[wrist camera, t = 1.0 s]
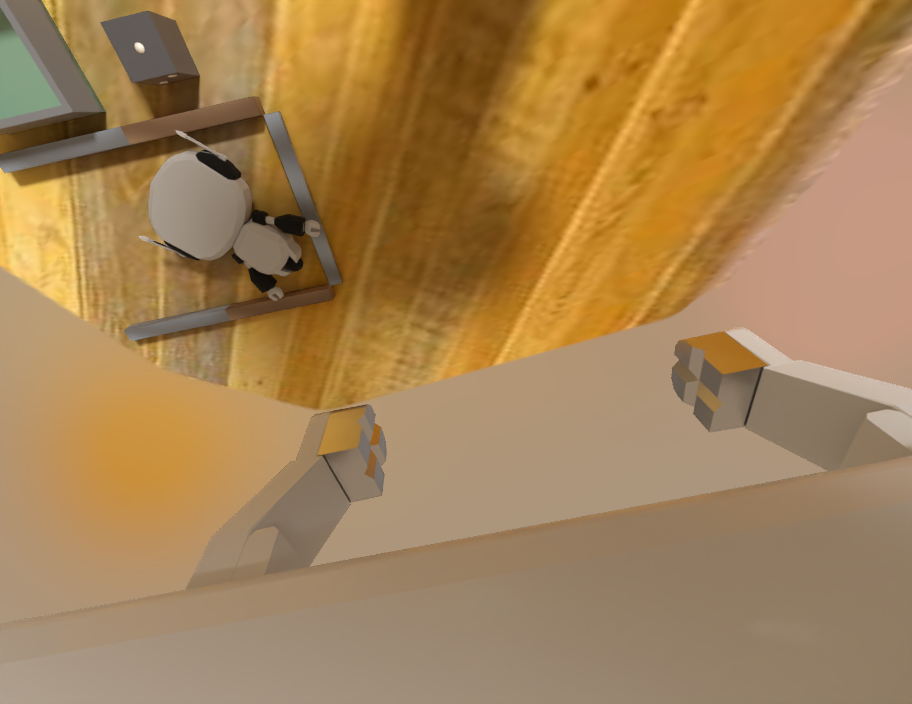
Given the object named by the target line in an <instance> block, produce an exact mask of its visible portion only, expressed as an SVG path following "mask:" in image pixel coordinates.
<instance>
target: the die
mask: <svg viewBox="0 0 912 704" xmlns="http://www.w3.org/2000/svg"><path fill="white" fill-rule="evenodd" d="M100 23H101V25H102V27H103V28H104V30H105V32H106V34H107V36H108V38H109V40H110V42H111V44H112V45H113V47H114V49H115V51H116V53H117V55H118V57H119V59H120V61H121V62H122V64H123V66H124V68H125V70H126V72H127V74H128V76H129V78H130V79H131V81H132V83H140V84H150V85H163V84H167V83H172V82H176V81H180V80H184V79H189V78H193V77H197V76H200V75H199V73H198V70H197V68H196V66H195V64H194V61H193V59H192V57H191V55H190V52H189V50H188V48H187V46H186V44H185V41H184V39H183V37H182V35H181V32H180V30H179V28H178V26H177V23H176V21H175V20H172V19H169V18H167V17H164V16H161V15H158V14H156V13H153V12H150V11H145V12H141V13H137V14H133V15H128V16H124V17H120V18H116V19H112V20H108V21H104V22H100Z"/></svg>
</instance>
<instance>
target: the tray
mask: <svg viewBox="0 0 912 704" xmlns="http://www.w3.org/2000/svg"><path fill="white" fill-rule="evenodd" d="M102 112H106V111H105V110H104V108H103V106H102V105H101V103H100V101H99V99H98V98H97V96H96V94H95V92H94V91H93V89H92V87H91V86H90V84H89V82H88V80H87V79H86V77H85V75H84V73H83V72H82V70H81V68H80V67H79V65H78V63H77V61H76V60H75V58H74V56H73V54H72V53H71V51H70V49H69V48H68V46H67V44H66V42H65V41H64V39H63V37H62V35H61V34H60V32H59V30H58V28H57V27H56V25H55V23H54V22H53V20H52V18H51V16H50V15H49V13H48V11H47V9H46V8H45V6H44V4H43V3H42V1H41V0H0V135H4V134H12V133H16V132H20V131H24V130H29V129H33V128H37V127H42V126H46V125H50V124H55V123H59V122H63V121H68V120H72V119H76V118H81V117H85V116H89V115H94V114H98V113H102Z"/></svg>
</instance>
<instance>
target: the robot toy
mask: <svg viewBox="0 0 912 704" xmlns="http://www.w3.org/2000/svg"><path fill="white" fill-rule="evenodd" d="M175 131H176V132H177V134H178V135H180V136H181V137H183V138H186V139H188V140H190V141H192V142H194V143H195V144H197V145H199V146H201V147H203V148H205V149H206V150H203V151H200V152H198V151H194V150H189V151H186V152H183V153H180V154H177V155H174V156H172V157H170V158H169V159H168V160H167V161H166V162H165V163H164V164H163V165H162V166H161V168H160V169H159V171H158V172H157V174H156V176H155V177H154V179H153V181H152V182H151V185H150V193H149V202H148V210H149V219H150V222H151V224H152V227H153V229H154V231H155V232H156V233H157V234H158V235H159V237H160V238H161V239H162V240H164V242H165V243H166V244H167V245H168V246H169V247H168V246H166V245H163V244H161V243H158V242H156V241H153V240H151V239H149V238H147V237H145V236H138V237H139V238H140V239H141V240H143V241H146V242H150V243H153V244H155V245H158V246H160V247H163V248H165V249H168V250H170V251H173V252H176V253H178V254H179V255H180V256H182V257H185V256H186V257H188V258H192V259H195V260H200V259H204V260H209V261H211V260H214V259H217V258H220V257H221V256H223V255H224V254H225V253H226V252H227V251H229V250H230V249H231V248H232V247H233V248H234V250H235V253H234V254H233V255H232V257H233V258H234V259H235V260H236V261H237V262H238V263H239V264H242V263H244V265H245V266H246V267H247V268H248V269H249V274H250V278H251V281H252V282H253V283H254V284H255V285H256V287H257V288H258V289H259V290H260V291H261V292H262V293H263V292H266V291H267V294H268V297H269V298H271V299H272V300H274V301H277V300H278V299H279V298H282V297H283V295H284V293H283V291H282V290H281V288H279V287H277V286H275V284H276V283H277V281H276V280H275V278H274V277H273V276H272V275H271V274H276V275H280V276H286V275H288V274H290V273H291V272H292V271H299V270H300V269H301V268H302V267H303V261H302V259H301V258H300V257H301V256H302V249H301V247H300V246H299V245H298V244H297V243H296V242H295V241H294V239H293V236H292V234H293V235H298V236H303V235H304V233H306V234H308V235H309V236H311V237H318V236H319V235H320V231H318V230H313V229H312V228H317V229H320V224H319V223H318V222H316V221H314V220H309V221H306V219H305V217H300V216H295V215H290V214H287V215H283V216H279V217H271V216H268V214H267V212H264V211H259V210H254V212H253V213H252V219H250V215H251V209H252V196H251V192H250V188H249V186H248V185H247V184H246V182H245V181H244V180H243V179H242V178H241V172H240V171H239V170H238V169H237V168H236V167H235V166H234V165H233V164H232V163H231V162H230V161H228V160H227V156H226V155H224V154H223V153H221V152H220V153H218V152H216V151H214V150H213V149H211V148H209V147H207V146H205V145H204V144H202V143H200V142H198V141H196V140H195V139H193V138H191V137H189V136H187V134H185V133H183V132H181V131H177V130H175ZM249 219H250V220H249Z"/></svg>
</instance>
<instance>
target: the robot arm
mask: <svg viewBox="0 0 912 704" xmlns="http://www.w3.org/2000/svg"><path fill="white" fill-rule="evenodd" d="M674 354H675V355H676V357H677V358H678V359H679V361H678V362H677V363H676V364H675V365H674V367H673V368H672V377H671V379H672V383H673V387H674V390H675V392H676V393H677V395H678V397H679V398H680V399H681V400H682V401H683V402H684V403H686V404H689V405H692V406H694V413H693V414H694V415H695V416H696V418H697V419H698V420H699V421H700V422H701V423H702V424H703V426H704V427H705V428H706V429H707V430H708V431H709V432H716V431H722V430H727V429H733V428H740V427H746V429H748V430H750V431H752V432H754V433H756V434H758V435H760V436H761V437H763V438H765V439H767V440H769V441H771V442H773V443H775V444H777V445H779V446H781V447H783V448H785V449H787V450H789V451H791V452H792V453H795V454H796V455H798V456H800V457H802V458H804V459H806V460H808V461H810V462H812V463H814V464H816V465H818V466H820V467H822V468H823V469H825V470H827V472H822V473H815V474H810V475H805V476H799V477H794V478H788V479H783V480H778V481H772V482H766V483H761V484H756V485H750V486H745V487H739V488H734V489H729V490H723V491H718V492H712V493H707V494H701V495H696V496H691V497H685V498H680V499H674V500H669V501H664V502H659V503H653V504H648V505H642V506H636V507H631V508H626V509H621V510H615V511H609V512H604V513H598V514H593V515H588V516H582V517H577V518H571V519H566V520H561V521H555V522H550V523H544V524H539V525H534V526H528V527H523V528H517V529H512V530H506V531H501V532H496V533H491V534H485V535H479V536H474V537H468V538H463V539H458V540H452V541H446V542H441V543H436V544H430V545H425V546H419V547H414V548H409V549H403V550H398V551H393V552H387V553H381V554H376V555H371V556H365V557H360V558H354V559H349V560H343V561H339V562H333V563H327V564H322V565H317V566H311V567H309V566H310V565H311V563H312V562H313V560H314V558H315V557H316V556H317V554H318V553H319V551H320V549H321V548H322V547H323V545H324V544H325V542H326V541H327V539H328V537H329V536H330V535H331V533H332V531H333V530H334V529H335V527H336V525H337V524H338V523H339V521H340V520H341V518H342V516H343V515H344V514H345V512H346V511H347V509H348V508H349V506H350V505H351V504H350V503H351V502H355V501H359V500H364V499H369V498H373V497H377V496H382V491H383V482H384V472H383V470H382V468H381V466H382V465H383V464H384V462H385V461H386V441H385V437H384V434H383V431H382V429H381V427H380V426H378V425H376V424H375V423H374V422H375V413H374V411H373V409H372V407H371V406H370V405H368V404H367V405H361V406H356V407H350V408H345V409H340V410H334V411H330V412H324V413H320V414H315V415H314V416H313V417H312V418H311V420H310V423H309V425H308V428H307V431H306V434H305V437H304V439H303V442H302V445H301V448H300V450H299V453H298V456H297V459H296V461H292V462H290V463H289V464H288V465H286V466H285V467H284V468H283V469H282V470H281V471H280V472H279V473H278V474H277V475H276V476H275V477H274V478H273V479H272V480H271V481H270V482H269V483H267V484H266V485H265V486H264V487H263V488H262V489H261V490H260V491H259V492H258V493H257V494H256V495H255V496H254V497H253V498H252V499H251V500H250V501H249V502H247V503H246V504H245V505H244V506H243V507H242V508H241V509H240V510H239V511H238V512H237V513H236V514H235V515H234V516H233V517H232V518H231V519H230V520H229V521H228V522H226V523H225V524H224V525H223V526H222V527H221V528H220V529H219V530H218V531H217V532H216V533H215V534H214V535H213V536H212V537H211V539H210V541H209V542H208V545H207V547H206V549H205V551H204V553H203V555H202V557H201V559H200V561H199V563H198V565H197V567H196V569H195V571H194V573H193V575H192V577H191V579H190V581H189V583H188V585H187V588H186V589H185V590H181V591H176V592H171V593H165V594H160V595H155V596H149V597H143V598H138V599H133V600H127V601H122V602H116V603H111V604H105V605H100V606H95V607H90V608H84V609H78V610H74V611H68V612H62V613H57V614H51V615H45V616H39V617H33V618H26V619H20V620H15V621H11V622H7V623H3V624H0V704H912V389H909V388H905V387H901V386H897V385H894V384H889V383H886V382H882V381H878V380H874V379H871V378H867V377H863V376H859V375H855V374H851V373H848V372H844V371H840V370H836V369H832V368H829V367H824V366H821V365H817V364H813V363H809V362H806V361H802V360H798V361H792V360H791V359H789V358H788V357H786V356H785V355H784V354H782V353H781V352H779V351H778V350H776V349H775V348H774V347H772V346H771V345H769V344H768V343H766V342H765V341H764V340H762V339H761V338H759V337H758V336H756V335H755V334H753V333H752V332H751V331H749V330H748V329H746V328H742V327H737V328H732V329H728V330H723V331H719V332H718V333H713V334H708V335H703V336H698V337H693V338H689V339H684V340H680V341H678V342H677V344H676V346H675V352H674Z"/></svg>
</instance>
